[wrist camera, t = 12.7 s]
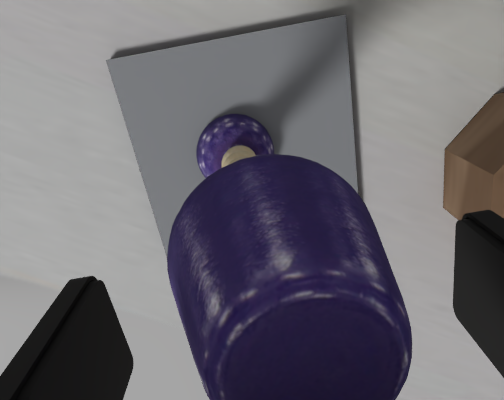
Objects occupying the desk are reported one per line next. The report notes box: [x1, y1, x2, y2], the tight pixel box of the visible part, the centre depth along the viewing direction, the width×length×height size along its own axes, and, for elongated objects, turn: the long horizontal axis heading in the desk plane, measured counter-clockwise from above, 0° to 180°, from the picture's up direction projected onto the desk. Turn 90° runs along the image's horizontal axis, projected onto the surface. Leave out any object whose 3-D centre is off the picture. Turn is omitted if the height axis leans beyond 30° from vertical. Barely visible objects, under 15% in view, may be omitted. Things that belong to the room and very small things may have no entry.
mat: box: [106, 14, 358, 256], centre depth 21 cm, size 12×12×1 cm
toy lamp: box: [167, 114, 412, 400], centre depth 13 cm, size 5×5×17 cm
